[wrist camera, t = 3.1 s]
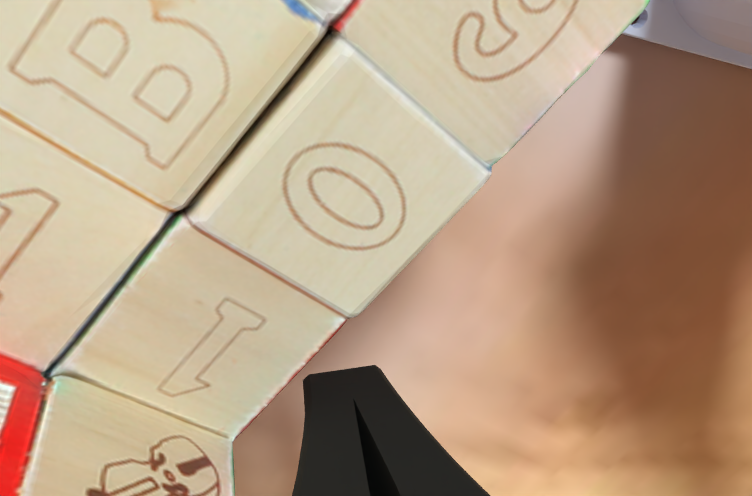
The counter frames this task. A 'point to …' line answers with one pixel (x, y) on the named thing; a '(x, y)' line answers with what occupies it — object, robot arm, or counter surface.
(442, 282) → the counter surface
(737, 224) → the counter surface
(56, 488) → the stack of blocks
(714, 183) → the counter surface
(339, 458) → the robot arm
